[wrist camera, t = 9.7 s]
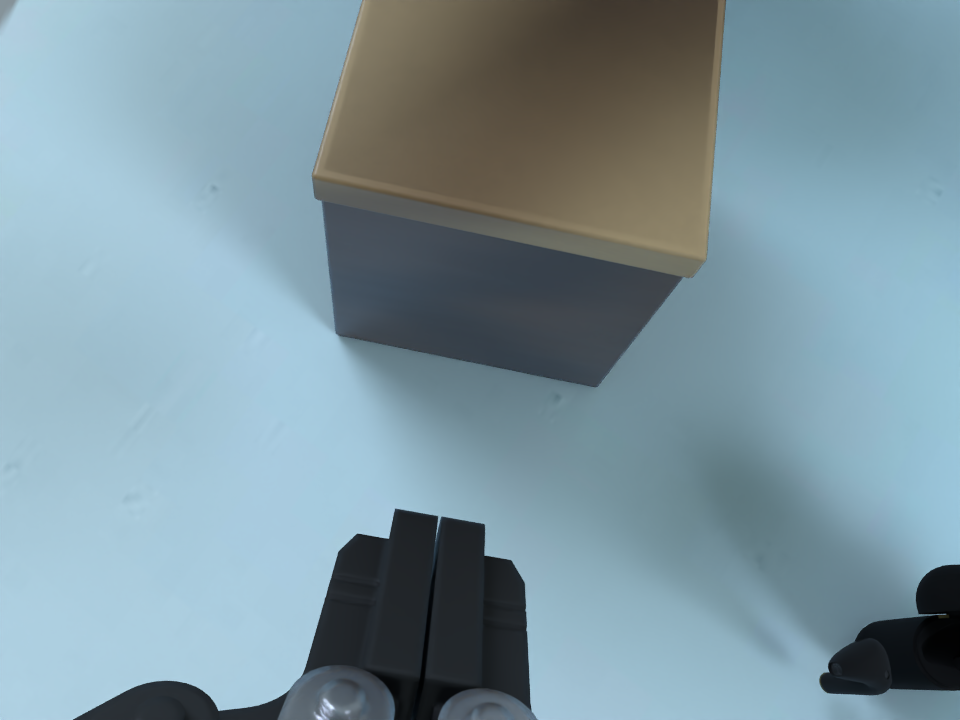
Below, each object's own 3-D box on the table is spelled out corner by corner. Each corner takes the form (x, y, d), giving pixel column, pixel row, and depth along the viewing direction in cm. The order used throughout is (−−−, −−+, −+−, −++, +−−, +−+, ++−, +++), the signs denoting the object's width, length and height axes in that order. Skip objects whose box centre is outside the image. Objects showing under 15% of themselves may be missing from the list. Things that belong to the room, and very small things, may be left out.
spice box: (330, 338, 21) (310, 176, 15) (394, 86, 24) (403, -148, 18) (600, 392, 22) (707, 260, 15) (631, 138, 25) (732, -71, 18)
